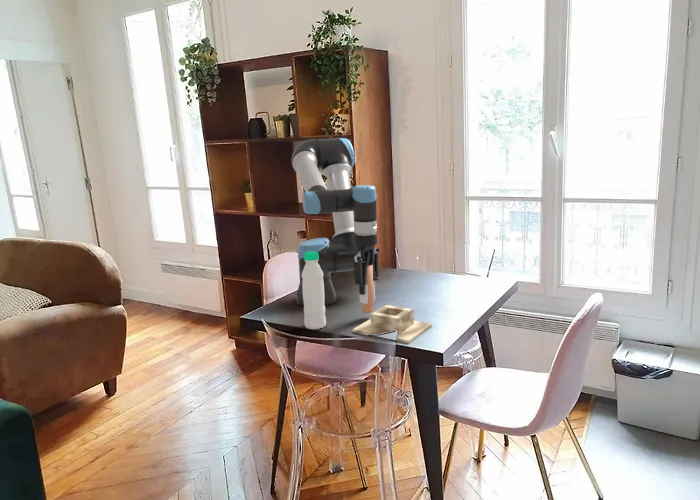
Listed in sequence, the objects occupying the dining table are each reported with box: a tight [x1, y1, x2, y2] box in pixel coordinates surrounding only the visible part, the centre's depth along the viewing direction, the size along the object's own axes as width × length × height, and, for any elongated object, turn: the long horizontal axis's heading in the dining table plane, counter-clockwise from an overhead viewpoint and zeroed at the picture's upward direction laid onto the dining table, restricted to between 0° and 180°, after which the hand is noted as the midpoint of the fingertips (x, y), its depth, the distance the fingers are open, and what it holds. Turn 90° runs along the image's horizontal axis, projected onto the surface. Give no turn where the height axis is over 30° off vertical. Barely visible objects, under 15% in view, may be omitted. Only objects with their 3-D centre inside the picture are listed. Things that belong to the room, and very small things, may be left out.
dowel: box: [361, 264, 375, 314], centre depth 183 cm, size 4×4×16 cm
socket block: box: [352, 304, 433, 344], centre depth 174 cm, size 20×16×6 cm
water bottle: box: [302, 251, 327, 330], centre depth 177 cm, size 7×7×25 cm
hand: (367, 300), depth 184 cm, fingers closed on dowel, 4 cm apart
